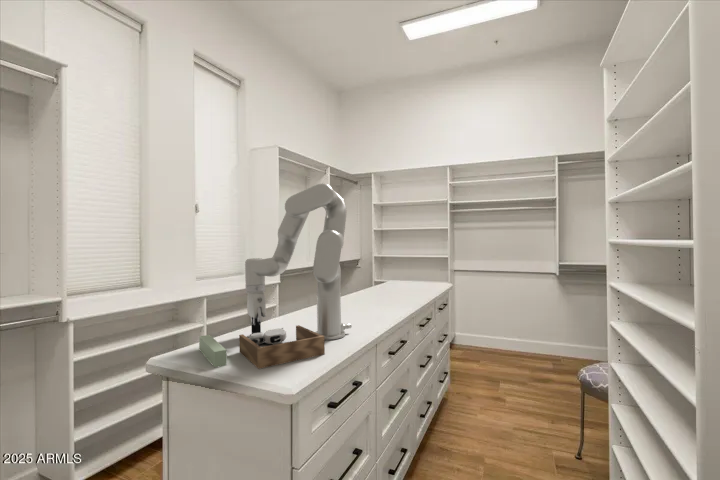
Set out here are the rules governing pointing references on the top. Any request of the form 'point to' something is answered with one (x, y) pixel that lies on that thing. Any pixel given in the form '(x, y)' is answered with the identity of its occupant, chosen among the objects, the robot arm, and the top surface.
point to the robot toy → (269, 336)
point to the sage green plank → (212, 350)
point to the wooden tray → (283, 349)
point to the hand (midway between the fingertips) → (256, 334)
